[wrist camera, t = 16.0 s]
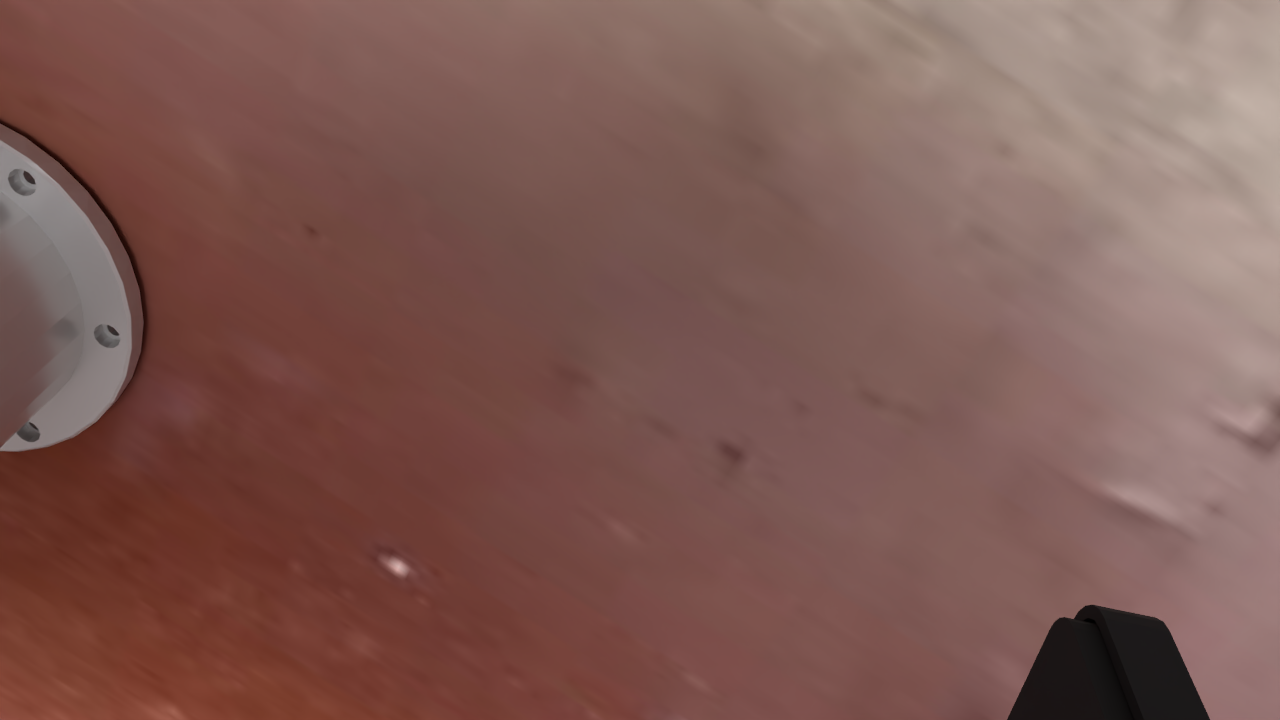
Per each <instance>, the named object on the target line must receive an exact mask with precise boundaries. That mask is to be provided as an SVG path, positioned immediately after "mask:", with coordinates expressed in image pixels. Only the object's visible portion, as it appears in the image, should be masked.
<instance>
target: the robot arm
mask: <svg viewBox="0 0 1280 720" xmlns="http://www.w3.org/2000/svg"><path fill="white" fill-rule="evenodd" d="M143 324H144V321H143V313H142V305H141V297H140V290H139V287H138V283H137V280H136V277H135V274H134V271H133V268H132V265H131V262H130V259H129V256H128V254H127V252H126V250H125V249H124V247H123V245H122V243H121V241H120V239H119V237H118V235H117V233H116V231H115V229H114V228H113V226H112V224H111V222H110V221H109V220H108V218H107V217H106V216H105V214H104V213H103V212H102V210H101V209H100V208H99V206H98V205H97V203H96V202H95V201H94V199H93V198H92V197H91V195H90V194H89V193H88V191H87V190H86V189H85V188H84V187H83V186H82V185H81V184H80V183H79V182H78V181H77V180H76V179H75V178H74V177H73V176H72V175H71V174H70V173H69V172H68V171H67V170H66V169H65V168H64V167H63V166H62V165H61V164H60V163H59V162H57V161H56V160H55V159H53V158H52V157H51V156H49V155H48V154H47V153H45V152H44V151H43V150H41V149H40V148H39V147H37V146H36V145H35V144H33V143H32V142H31V141H29V140H28V139H27V138H25V137H24V136H22V135H20V134H18V133H17V132H15V131H13V130H11V129H9V128H7V127H6V126H4V125H2V124H0V451H7V452H20V451H26V450H33V449H39V448H45V447H49V446H52V445H55V444H57V443H60V442H62V441H65V440H68V439H70V438H73V437H75V436H76V435H78V434H79V433H81V432H82V431H84V430H85V429H87V428H88V427H89V426H91V425H92V424H94V423H95V422H97V421H98V420H99V419H100V418H101V417H102V415H103V414H104V413H105V412H106V411H107V410H108V409H109V408H110V407H111V406H112V405H113V404H114V403H115V402H116V401H117V400H118V398H119V397H120V395H121V394H122V392H123V391H124V389H125V388H126V386H127V385H128V383H129V382H130V380H131V379H132V377H133V374H134V371H135V368H136V365H137V362H138V359H139V356H140V353H141V346H142V335H143ZM1007 720H1210V719H1209V716H1208V714H1207V712H1206V710H1205V708H1204V705H1203V703H1202V701H1201V699H1200V697H1199V694H1198V692H1197V690H1196V688H1195V686H1194V683H1193V681H1192V679H1191V677H1190V675H1189V672H1188V670H1187V668H1186V666H1185V664H1184V662H1183V659H1182V657H1181V655H1180V653H1179V651H1178V648H1177V646H1176V644H1175V642H1174V640H1173V637H1172V635H1171V633H1170V631H1169V629H1168V628H1167V626H1166V625H1165V623H1164V622H1163V621H1161V620H1159V619H1157V618H1154V617H1150V616H1145V615H1140V614H1135V613H1130V612H1125V611H1120V610H1115V609H1110V608H1106V607H1101V606H1096V605H1088V606H1085V607H1083V608H1082V609H1081V610H1080V611H1079V612H1078V613H1077V615H1076V616H1075V618H1074V619H1070V618H1065V617H1063V618H1059V619H1058V620H1057V621H1055V622H1054V624H1053V625H1052V627H1051V629H1050V630H1049V633H1048V635H1047V637H1046V639H1045V641H1044V643H1043V645H1042V647H1041V649H1040V652H1039V654H1038V656H1037V658H1036V660H1035V662H1034V664H1033V666H1032V668H1031V670H1030V673H1029V675H1028V677H1027V679H1026V681H1025V683H1024V685H1023V687H1022V689H1021V692H1020V694H1019V696H1018V698H1017V700H1016V702H1015V704H1014V706H1013V708H1012V711H1011V713H1010V715H1009V717H1008V719H1007Z"/></svg>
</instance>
